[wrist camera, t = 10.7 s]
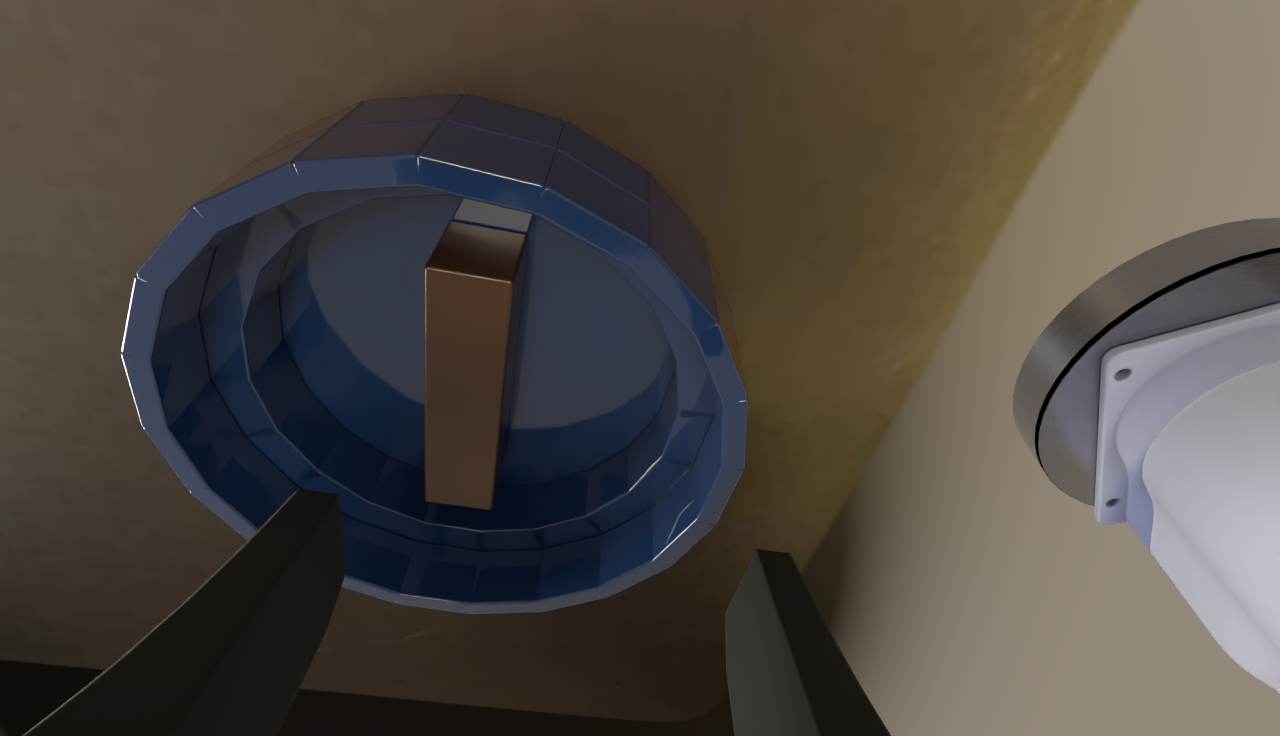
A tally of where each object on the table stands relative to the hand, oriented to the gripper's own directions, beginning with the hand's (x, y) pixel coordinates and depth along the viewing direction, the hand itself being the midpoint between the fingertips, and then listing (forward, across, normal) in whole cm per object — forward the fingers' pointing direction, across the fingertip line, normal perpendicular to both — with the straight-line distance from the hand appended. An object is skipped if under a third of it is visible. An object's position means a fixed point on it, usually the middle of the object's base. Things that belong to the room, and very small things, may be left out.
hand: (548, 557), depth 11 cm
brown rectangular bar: (+8, +3, +2) cm, 9 cm away
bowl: (+9, +3, +2) cm, 9 cm away
